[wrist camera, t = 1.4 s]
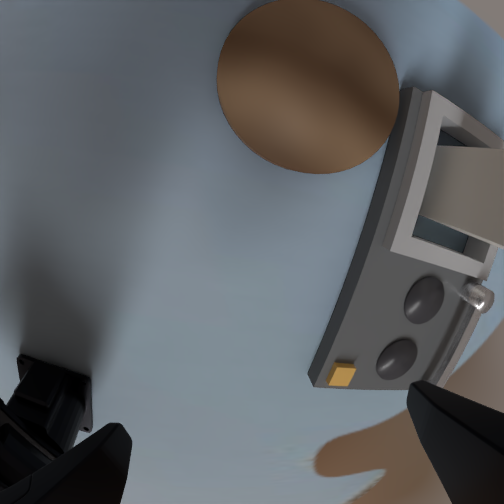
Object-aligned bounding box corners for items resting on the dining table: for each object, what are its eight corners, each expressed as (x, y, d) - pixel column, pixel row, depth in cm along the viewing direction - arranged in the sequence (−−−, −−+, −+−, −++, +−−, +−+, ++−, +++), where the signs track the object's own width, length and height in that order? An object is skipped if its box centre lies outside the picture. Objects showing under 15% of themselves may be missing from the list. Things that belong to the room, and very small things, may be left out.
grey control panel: (421, 379, 25) (435, 395, 23) (307, 374, 23) (317, 395, 20) (503, 156, 20) (525, 159, 18) (400, 89, 18) (422, 84, 15)
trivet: (366, 195, 20) (375, 197, 18) (193, 144, 17) (192, 143, 16) (402, 47, 17) (411, 43, 16) (246, -15, 15) (248, -24, 14)
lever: (419, 375, 25) (441, 400, 21) (405, 374, 25) (428, 401, 21) (465, 274, 23) (497, 292, 19) (453, 271, 22) (485, 289, 18)
